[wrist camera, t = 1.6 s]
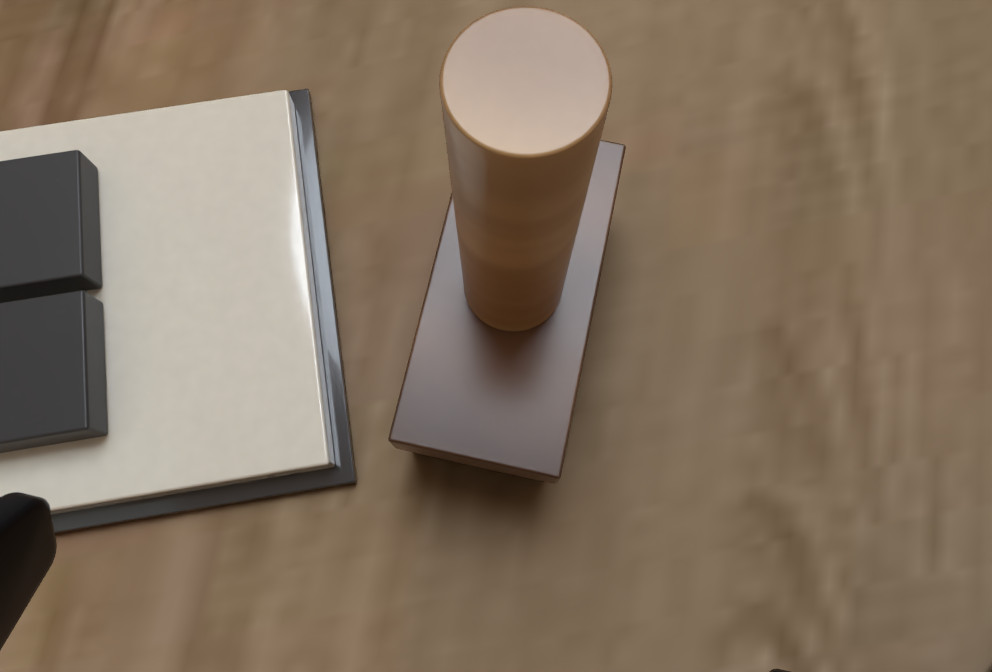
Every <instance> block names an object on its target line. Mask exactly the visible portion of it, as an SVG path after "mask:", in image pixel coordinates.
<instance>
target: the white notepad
mask: <svg viewBox="0 0 992 672" xmlns="http://www.w3.org/2000/svg"><path fill="white" fill-rule="evenodd" d="M72 150H79V151H81V152H82V153H83V154H84V155H85V156H86V157H87V158H88V159H89V160H90V161H91V162H92V163H93V164H94V165H95V166H96V167H97V169H98V193H99V219H100V245H101V271H102V288H99V289H93V290H86V292H87V293H89V294H90V295H92V296H93V297H95V298H97V299H98V300H100V301H101V302H102V303H103V320H104V346H105V372H106V398H107V423H108V434H107V435H105V436H101V437H95V438H89V439H83V440H77V441H71V442H65V443H59V444H53V445H47V446H40V447H34V448H28V449H22V450H16V451H10V452H4V453H0V497H1V496H3V495H6V494H9V493H12V492H20V493H25V494H29V495H33V496H38V497H42V498H44V499H46V501H47V502H48V503H49V505H50V509H51V514H52V520H53V526H54V532H55V534H56V533H62V532H67V531H73V530H79V529H85V528H91V527H97V526H103V525H109V524H115V523H121V522H127V521H133V520H139V519H144V518H150V517H156V516H162V515H168V514H174V513H180V512H186V511H192V510H198V509H204V508H210V507H216V506H221V505H227V504H233V503H239V502H245V501H251V500H257V499H263V498H269V497H275V496H281V495H287V494H293V493H299V492H304V491H310V490H316V489H322V488H328V487H334V486H340V485H346V484H352V483H356V482H357V481H356V472H355V464H354V456H353V447H352V439H351V431H350V422H349V414H348V405H347V397H346V389H345V380H344V372H343V364H342V355H341V347H340V339H339V330H338V322H337V314H336V305H335V297H334V289H333V280H332V272H331V264H330V255H329V247H328V239H327V230H326V222H325V214H324V205H323V197H322V189H321V180H320V172H319V164H318V155H317V147H316V139H315V130H314V122H313V114H312V105H311V97H310V92H309V90H308V89H303V90H296V91H289V92H288V91H287V90H281V91H274V92H267V93H260V94H253V95H247V96H240V97H233V98H226V99H219V100H212V101H206V102H199V103H192V104H185V105H178V106H172V107H165V108H158V109H151V110H144V111H137V112H131V113H124V114H117V115H110V116H103V117H96V118H90V119H83V120H76V121H69V122H62V123H55V124H49V125H42V126H35V127H28V128H21V129H15V130H8V131H1V132H0V161H5V160H12V159H18V158H25V157H32V156H39V155H45V154H52V153H59V152H66V151H72Z"/></svg>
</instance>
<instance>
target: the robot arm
mask: <svg viewBox="0 0 992 672" xmlns="http://www.w3.org/2000/svg"><path fill="white" fill-rule="evenodd" d="M55 554H56V538H55V532H54V526H53V520H52V514H51V509H50V505H49V503H48V502H47V501H46V499H44V498H42V497H38V496H33V495H29V494H25V493H20V492H12V493H9V494H6V495H3V496H1V497H0V650H1V648H2V647H3V645H4V643H5V642H6V640H7V638H8V637H9V635H10V633H11V632H12V630H13V628H14V627H15V625H16V623H17V622H18V620H19V618H20V617H21V615H22V613H23V612H24V610H25V608H26V607H27V605H28V603H29V602H30V600H31V598H32V597H33V595H34V593H35V592H36V590H37V588H38V587H39V585H40V583H41V582H42V580H43V578H44V577H45V575H46V573H47V572H48V570H49V568H50V567H51V565H52V563H53V560H54V558H55ZM770 672H790V671H785V670H781V669H773V670H771V671H770Z"/></svg>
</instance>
